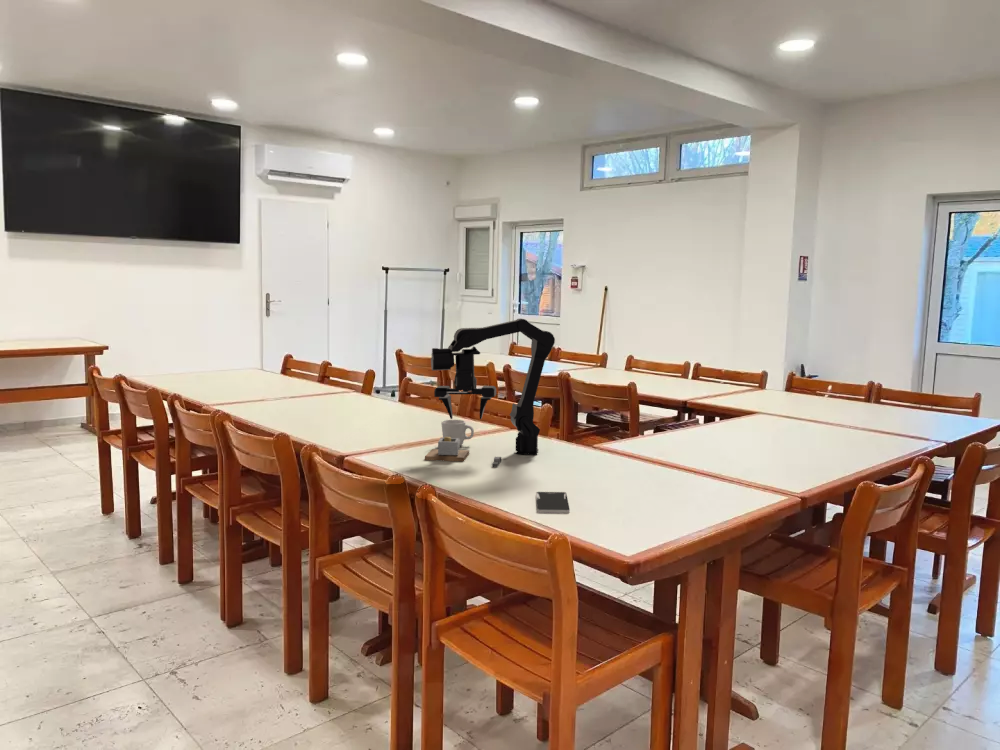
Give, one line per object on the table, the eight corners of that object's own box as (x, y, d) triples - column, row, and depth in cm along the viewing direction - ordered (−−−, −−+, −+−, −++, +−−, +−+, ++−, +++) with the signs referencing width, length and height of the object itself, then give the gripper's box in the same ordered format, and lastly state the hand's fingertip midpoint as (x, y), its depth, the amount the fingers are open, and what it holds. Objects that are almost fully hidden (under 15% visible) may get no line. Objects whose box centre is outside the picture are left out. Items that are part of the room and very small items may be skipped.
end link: (459, 450, 229) (459, 438, 228) (457, 455, 223) (457, 442, 222) (440, 450, 229) (440, 437, 228) (438, 454, 223) (438, 441, 223)
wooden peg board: (469, 454, 231) (469, 434, 230) (463, 461, 221) (463, 441, 221) (432, 452, 233) (432, 433, 232) (424, 460, 223) (424, 440, 222)
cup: (475, 443, 247) (475, 420, 246) (472, 448, 239) (472, 424, 238) (443, 442, 248) (443, 419, 247) (439, 447, 240) (439, 423, 239)
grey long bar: (501, 460, 223) (501, 454, 223) (497, 467, 215) (497, 461, 214) (496, 459, 224) (496, 454, 223) (492, 467, 215) (492, 461, 215)
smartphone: (537, 509, 172) (536, 491, 187) (537, 515, 172) (536, 496, 187) (569, 510, 172) (566, 491, 187) (569, 515, 172) (565, 496, 187)
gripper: (498, 366, 233) (498, 414, 235) (440, 366, 235) (441, 414, 237) (493, 370, 222) (494, 420, 224) (433, 370, 224) (434, 420, 226)
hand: (466, 418), depth 228 cm, fingers open, 9 cm apart
